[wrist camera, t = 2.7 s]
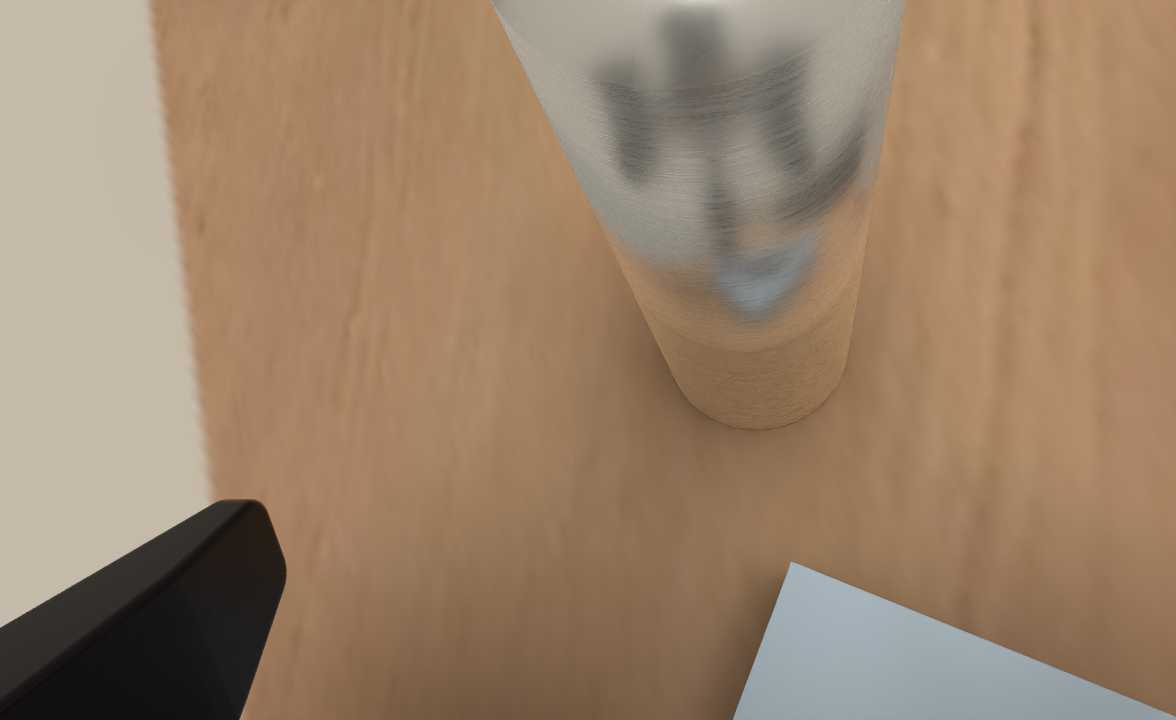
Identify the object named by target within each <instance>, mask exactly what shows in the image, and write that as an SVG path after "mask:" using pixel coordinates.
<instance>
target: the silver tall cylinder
mask: <svg viewBox="0 0 1176 720" xmlns="http://www.w3.org/2000/svg"><path fill="white" fill-rule="evenodd" d="M491 2H492V4H493V6H494V8H495V10H496V12H497V14H498V16H499V18H500V21H501V23H502V25H503V27H504V29H505V31H506V33H507V35H508V37H509V39H510V41H511V43H512V45H513V47H514V49H515V51H516V53H517V56H518V58H519V60H520V62H521V64H522V66H523V68H524V70H525V72H526V74H527V76H528V78H529V80H530V82H531V84H532V86H533V89H534V91H535V93H536V95H537V97H538V99H539V101H540V103H541V105H542V107H543V109H544V111H545V113H546V115H547V117H548V119H549V121H550V124H551V126H552V128H553V130H554V132H555V134H556V136H557V138H558V140H559V142H560V144H561V146H562V148H563V150H564V152H565V154H566V157H567V159H568V161H569V163H570V165H571V167H572V169H573V171H574V173H575V175H576V177H577V179H578V181H579V183H580V185H581V187H582V189H583V192H584V194H585V196H586V198H587V200H588V202H589V204H590V206H591V208H592V210H593V212H594V214H595V216H596V218H597V220H598V222H599V224H600V227H601V229H602V231H603V233H604V235H605V237H606V239H607V241H608V243H609V245H610V247H611V249H612V251H613V253H614V255H615V257H616V260H617V262H618V264H619V266H620V268H621V270H622V272H623V274H624V276H625V278H626V280H627V282H628V284H629V286H630V288H631V290H632V292H633V295H634V297H635V299H636V301H637V303H638V305H639V307H640V309H641V311H642V313H643V315H644V317H645V319H646V321H647V323H648V325H649V328H650V330H651V332H652V334H653V336H654V338H655V340H656V342H657V344H658V346H659V348H660V350H661V352H662V354H663V356H664V358H665V360H666V363H667V365H668V367H669V369H670V371H671V373H672V375H673V377H674V379H675V381H676V383H677V385H678V386H679V388H680V390H681V391H682V393H683V394H684V395H685V397H686V398H687V399H688V400H689V401H690V402H691V403H692V404H693V405H694V406H695V407H696V408H697V409H699V410H700V411H701V412H702V413H704V414H705V415H707V416H709V417H710V418H712V419H714V420H716V421H718V422H720V423H723V424H725V425H729V426H732V427H736V428H742V429H750V430H763V429H773V428H777V427H782V426H785V425H788V424H791V423H793V422H796V421H798V420H800V419H802V418H804V417H806V416H807V415H809V414H810V413H812V412H813V411H814V410H816V409H817V408H818V407H819V406H820V405H821V404H823V403H824V402H825V401H826V400H827V398H828V397H829V396H830V395H831V394H832V392H833V391H834V389H835V388H836V386H837V385H838V383H839V381H840V379H841V377H842V375H843V373H844V370H845V366H846V363H847V359H848V353H849V347H850V341H851V335H852V328H853V322H854V316H855V310H856V304H857V297H858V291H859V285H860V279H861V273H862V266H863V260H864V254H865V248H866V242H867V235H868V229H869V223H870V217H871V211H872V205H873V198H874V192H875V186H876V180H877V174H878V167H879V161H880V155H881V149H882V143H883V136H884V130H885V124H886V118H887V112H888V105H889V99H890V93H891V87H892V81H893V75H894V68H895V62H896V56H897V50H898V44H899V37H900V31H901V25H902V19H903V13H904V6H905V0H491Z"/></svg>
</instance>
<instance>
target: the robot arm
mask: <svg viewBox="0 0 1176 720" xmlns="http://www.w3.org/2000/svg"><path fill="white" fill-rule="evenodd" d="M285 583H286V563H285V559H284V556H283V553H282V550H281V548H280V545H279V542H278V539H277V536H276V534H275V531H274V528H273V525H272V522H271V520H270V517H269V514H268V512H267V510H266V508H265V506H264V505H263V504H262V503H261V502H259V501H257V500H253V499H231V500H221V501H218V502H216V503H214V504H212V505H210V506H209V507H207V508H205V509H203V510H202V511H200V512H198V513H197V514H195V515H193V516H191V517H190V518H188V519H186V520H185V521H183V522H181V523H179V524H178V525H176V526H174V527H173V528H171V529H169V530H168V531H166V532H164V533H162V534H161V535H159V536H157V537H155V538H154V539H152V540H150V541H148V542H147V543H145V544H143V545H142V546H140V547H138V548H136V549H135V550H133V551H131V552H130V553H128V554H126V555H124V556H123V557H121V558H119V559H118V560H116V561H114V562H113V563H111V564H109V565H108V566H106V567H104V568H102V569H101V570H99V571H97V572H96V573H93V574H92V575H90V576H89V577H87V578H85V579H83V580H82V581H80V582H78V583H76V584H75V585H73V586H71V587H70V588H68V589H66V590H65V591H63V592H61V593H59V594H58V595H56V596H54V597H53V598H51V599H49V600H47V601H45V602H44V603H42V604H40V605H39V606H37V607H35V608H33V609H32V610H30V611H28V612H26V613H25V614H23V615H22V616H20V617H18V618H17V619H14V620H13V621H11V622H9V623H8V624H6V625H4V626H2V627H1V628H0V720H239V719H240V716H241V714H242V711H243V708H244V706H245V703H246V700H247V698H248V695H249V692H250V689H251V686H252V683H253V680H254V677H255V674H256V671H257V668H258V665H259V662H260V659H261V656H262V653H263V650H264V647H265V644H266V641H267V638H268V635H269V632H270V629H271V626H272V623H273V620H274V617H275V614H276V611H277V608H278V605H279V602H280V599H281V596H282V593H283V590H284V587H285Z"/></svg>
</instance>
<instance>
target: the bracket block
mask: <svg viewBox="0 0 1176 720" xmlns="http://www.w3.org/2000/svg"><path fill="white" fill-rule="evenodd" d="M733 720H1176V717H1175V716H1173V715H1170V714H1168V713H1165V712H1163V711H1160V710H1158V709H1155V708H1153V707H1151V706H1148V705H1146V704H1143V703H1141V702H1138V701H1136V700H1133V699H1131V698H1128V697H1126V696H1123V695H1121V694H1118V693H1116V692H1113V691H1111V690H1108V689H1106V688H1103V687H1101V686H1099V685H1096V684H1094V683H1091V682H1089V681H1086V680H1084V679H1081V678H1079V677H1076V676H1074V675H1071V674H1069V673H1066V672H1064V671H1061V670H1059V669H1056V668H1054V667H1051V666H1049V665H1046V664H1044V663H1042V662H1039V661H1037V660H1034V659H1032V658H1029V657H1027V656H1024V655H1022V654H1019V653H1017V652H1014V651H1012V650H1009V649H1007V648H1004V647H1002V646H999V645H997V644H994V643H992V642H990V641H987V640H985V639H982V638H980V637H977V636H975V635H972V634H970V633H967V632H965V631H962V630H960V629H957V628H955V627H952V626H950V625H947V624H945V623H942V622H940V621H938V620H935V619H933V618H930V617H928V616H925V615H923V614H920V613H918V612H915V611H913V610H910V609H908V608H905V607H903V606H900V605H898V604H895V603H893V602H890V601H888V600H886V599H883V598H881V597H878V596H876V595H873V594H871V593H868V592H866V591H863V590H861V589H858V588H856V587H853V586H851V585H848V584H846V583H843V582H841V581H838V580H836V579H833V578H831V577H829V576H826V575H824V574H821V573H819V572H816V571H814V570H811V569H809V568H806V567H804V566H801V565H799V564H796V563H794V562H791V564H790V567H789V570H788V573H787V575H786V578H785V581H784V583H783V586H782V589H781V591H780V594H779V597H778V599H777V602H776V605H775V608H774V610H773V613H772V616H771V618H770V621H769V624H768V626H767V629H766V632H765V634H764V637H763V640H762V642H761V645H760V648H759V651H758V653H757V656H756V659H755V661H754V664H753V667H752V669H751V672H750V675H749V677H748V680H747V683H746V685H745V688H744V691H743V694H742V696H741V699H740V702H739V704H738V707H737V710H736V712H735V715H734V718H733Z"/></svg>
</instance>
